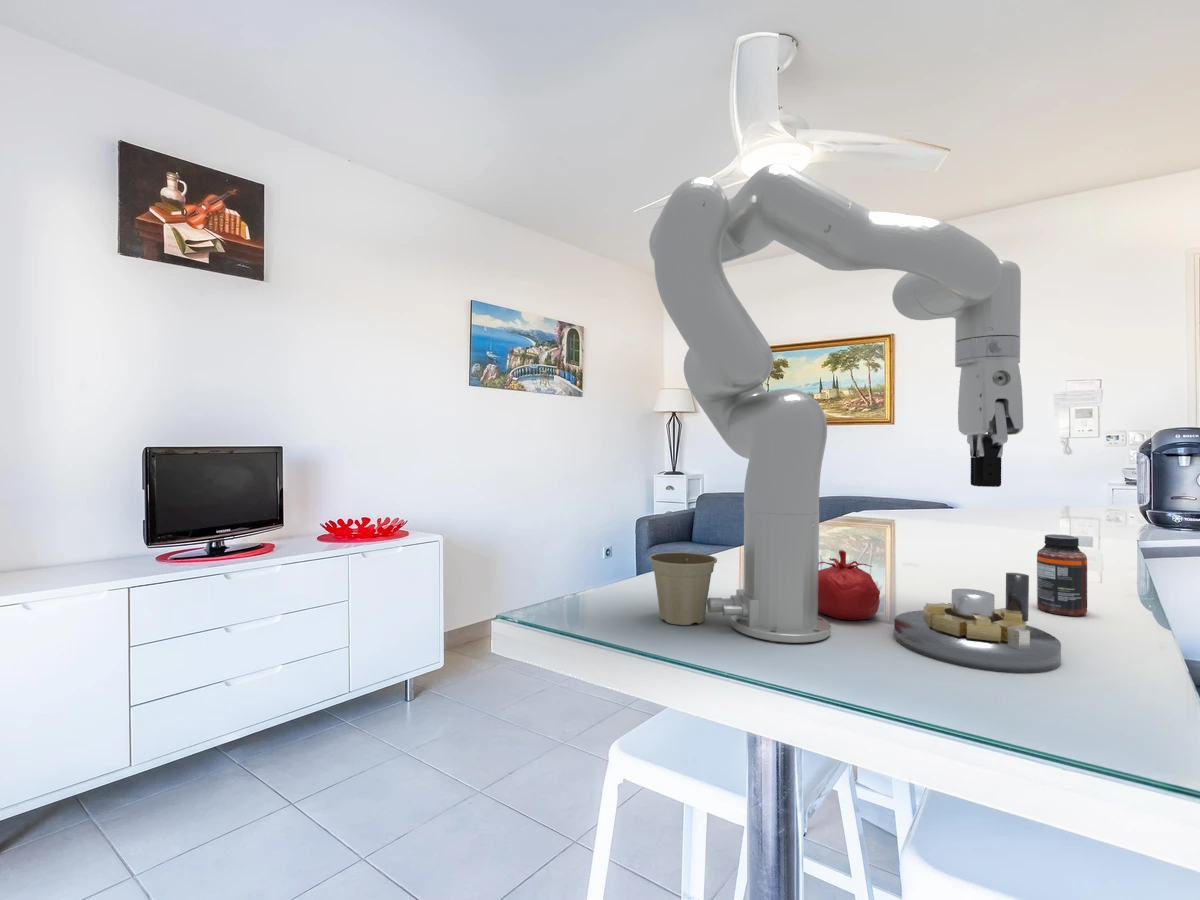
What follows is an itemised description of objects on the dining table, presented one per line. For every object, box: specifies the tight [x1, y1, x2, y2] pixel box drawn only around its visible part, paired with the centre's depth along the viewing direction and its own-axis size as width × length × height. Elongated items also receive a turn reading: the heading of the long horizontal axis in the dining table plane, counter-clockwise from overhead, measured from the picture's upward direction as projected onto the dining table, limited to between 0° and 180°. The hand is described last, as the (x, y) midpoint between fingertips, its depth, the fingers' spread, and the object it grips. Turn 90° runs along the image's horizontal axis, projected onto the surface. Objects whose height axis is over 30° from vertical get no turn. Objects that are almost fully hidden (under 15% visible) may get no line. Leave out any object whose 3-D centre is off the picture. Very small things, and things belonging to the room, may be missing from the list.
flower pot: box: [648, 551, 718, 626], centre depth 81 cm, size 9×9×9 cm
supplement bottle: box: [1036, 533, 1088, 617], centre depth 87 cm, size 6×6×11 cm
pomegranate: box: [818, 549, 881, 621], centre depth 84 cm, size 10×10×9 cm
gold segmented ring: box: [923, 572, 1030, 642], centre depth 72 cm, size 15×10×6 cm, turn 115°
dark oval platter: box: [893, 588, 1062, 674], centre depth 71 cm, size 17×17×6 cm
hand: (985, 485), depth 81 cm, fingers closed
